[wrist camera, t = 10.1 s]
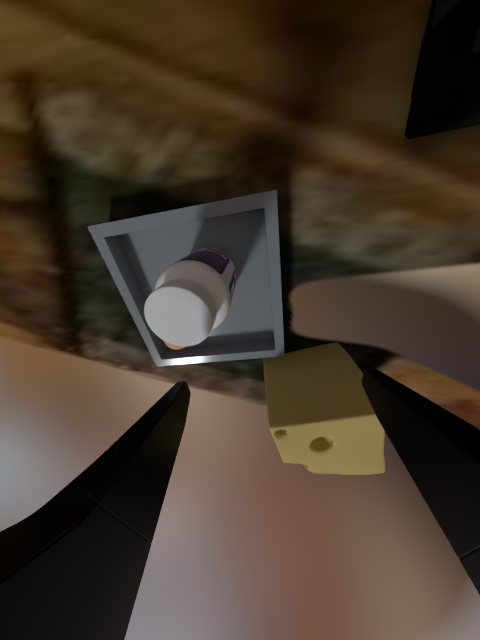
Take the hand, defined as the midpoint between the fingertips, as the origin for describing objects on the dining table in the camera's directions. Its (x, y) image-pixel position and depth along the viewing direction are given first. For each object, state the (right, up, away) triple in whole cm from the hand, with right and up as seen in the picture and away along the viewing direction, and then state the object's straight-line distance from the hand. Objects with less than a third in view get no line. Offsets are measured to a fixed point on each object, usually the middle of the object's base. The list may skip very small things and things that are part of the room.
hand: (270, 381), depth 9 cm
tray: (-5, +6, +11) cm, 14 cm away
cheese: (+8, -5, +17) cm, 19 cm away
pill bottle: (-5, +8, +10) cm, 13 cm away
